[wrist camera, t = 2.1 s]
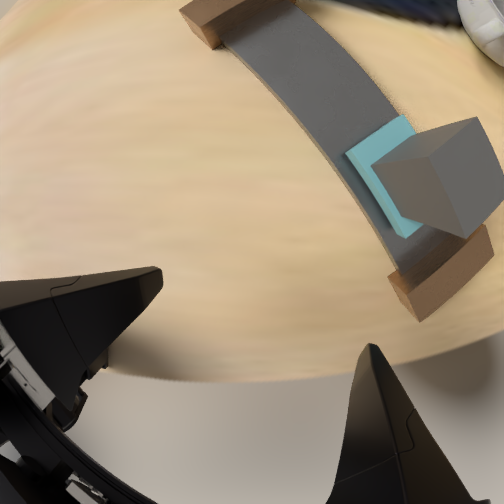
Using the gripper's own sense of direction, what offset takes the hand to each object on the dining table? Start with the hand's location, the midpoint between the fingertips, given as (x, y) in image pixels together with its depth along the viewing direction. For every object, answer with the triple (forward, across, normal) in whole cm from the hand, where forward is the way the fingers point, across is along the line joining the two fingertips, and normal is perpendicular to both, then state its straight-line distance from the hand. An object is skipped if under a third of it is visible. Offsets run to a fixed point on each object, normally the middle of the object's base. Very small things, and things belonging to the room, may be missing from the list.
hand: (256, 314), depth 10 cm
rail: (+15, +1, +7) cm, 16 cm away
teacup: (+24, +14, +23) cm, 36 cm away
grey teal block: (+13, +5, +4) cm, 14 cm away
